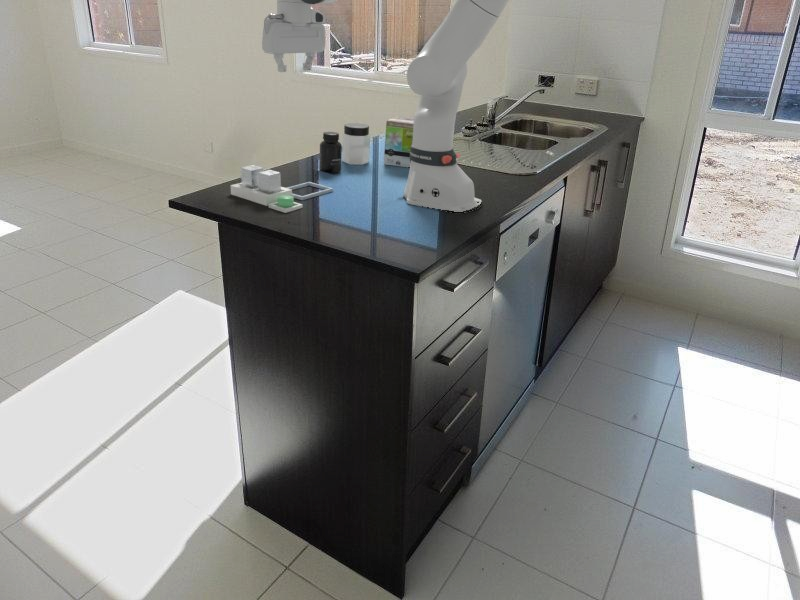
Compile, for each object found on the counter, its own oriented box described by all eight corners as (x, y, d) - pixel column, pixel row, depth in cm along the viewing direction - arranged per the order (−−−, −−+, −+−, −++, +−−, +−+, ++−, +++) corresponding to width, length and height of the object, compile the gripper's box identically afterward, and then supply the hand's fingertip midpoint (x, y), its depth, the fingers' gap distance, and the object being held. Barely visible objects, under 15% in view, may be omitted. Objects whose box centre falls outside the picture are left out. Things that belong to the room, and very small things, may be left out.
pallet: (292, 202, 166) (291, 189, 164) (266, 210, 159) (266, 196, 158) (257, 192, 173) (256, 179, 171) (231, 198, 166) (230, 185, 165)
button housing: (302, 212, 160) (302, 204, 159) (285, 217, 155) (285, 209, 154) (285, 206, 163) (285, 199, 162) (268, 211, 158) (268, 204, 157)
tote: (333, 195, 174) (333, 188, 173) (302, 204, 165) (302, 197, 164) (309, 188, 179) (309, 181, 178) (277, 197, 170) (277, 189, 169)
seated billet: (263, 193, 168) (263, 167, 165) (252, 196, 165) (251, 170, 162) (253, 190, 170) (252, 164, 167) (241, 193, 167) (240, 167, 164)
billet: (281, 199, 164) (280, 172, 161) (269, 202, 162) (269, 175, 158) (270, 195, 167) (269, 169, 164) (258, 198, 164) (257, 172, 161)
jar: (368, 159, 214) (369, 123, 209) (369, 165, 207) (371, 128, 202) (342, 158, 213) (342, 122, 208) (342, 164, 206) (343, 127, 201)
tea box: (383, 165, 208) (385, 120, 202) (390, 159, 217) (393, 115, 211) (427, 170, 205) (431, 124, 199) (433, 164, 214) (437, 119, 208)
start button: (297, 209, 159) (296, 198, 158) (285, 212, 156) (285, 201, 155) (285, 205, 161) (285, 194, 160) (274, 209, 158) (274, 197, 157)
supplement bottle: (337, 175, 193) (338, 136, 188) (316, 173, 194) (316, 134, 189) (343, 170, 199) (344, 132, 194) (323, 168, 200) (323, 130, 195)
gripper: (273, 14, 153) (274, 74, 159) (329, 16, 168) (329, 70, 174) (255, 12, 156) (257, 71, 162) (312, 14, 171) (312, 68, 177)
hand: (294, 71), depth 168 cm, fingers open, 8 cm apart
